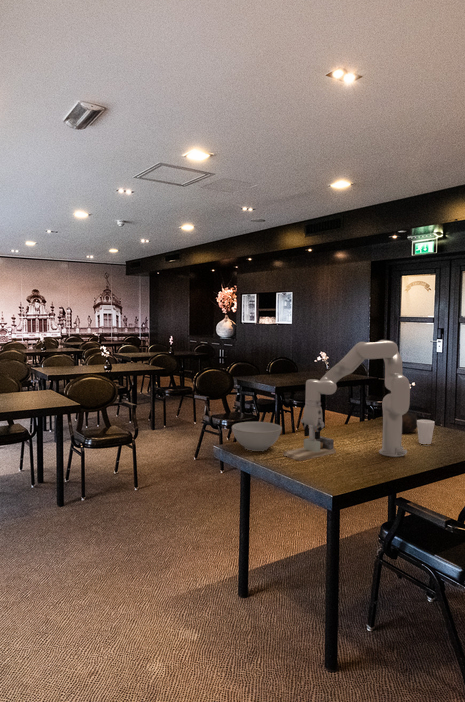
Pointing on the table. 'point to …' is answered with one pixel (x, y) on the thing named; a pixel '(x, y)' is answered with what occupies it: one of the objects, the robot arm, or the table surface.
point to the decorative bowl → (256, 434)
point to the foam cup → (425, 431)
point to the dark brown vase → (409, 422)
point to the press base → (307, 454)
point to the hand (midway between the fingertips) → (312, 437)
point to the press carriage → (312, 441)
